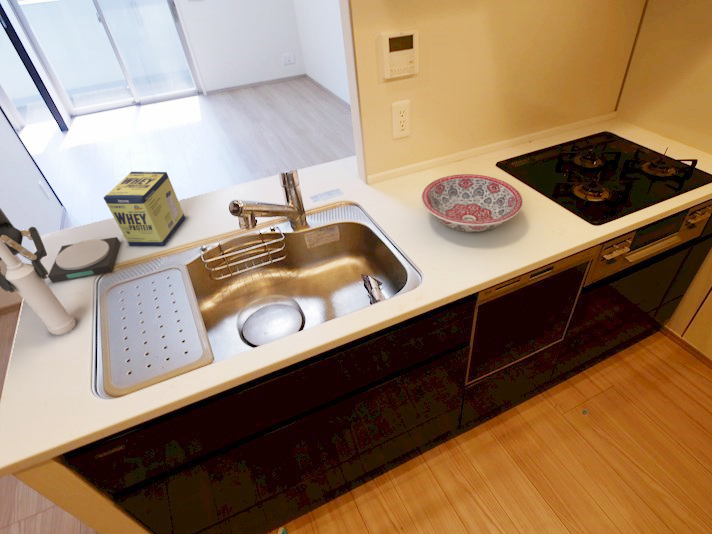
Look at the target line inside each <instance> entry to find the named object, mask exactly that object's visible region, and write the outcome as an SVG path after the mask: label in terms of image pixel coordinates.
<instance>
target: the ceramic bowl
mask: <svg viewBox="0 0 712 534" xmlns="http://www.w3.org/2000/svg"><path fill="white" fill-rule="evenodd" d="M421 203H422V205H423V207H424V208H425V209H426V211H428V212H429V213H430V214H431V215H433V216H434V217H435V218H436V219H437V220H438V221H439V222H440V223H442V224H443V225H445V226H446V227H448V228H450V229H453V230H456V231H459V232H466V233H477V232H478V233H481V232H486V231H490V230H493V229H495V228H497V227H500V226H501V225H503V224H504V223H505V222H507V221H509V220H511V219H513V218H514V217H516V216H517V215H518V214H519V213H520V212H521V210H522V208H523V203H524V202H523V197H522V195H521V193H520V192H519V190H517V188H515V186H513V185H511V184H510V183H508V182H506V181H504V180H501V179H498V178H495V177H492V176H488V175H482V174H471V173H468V174H467V173H462V174H461V173H460V174H452V175H448V176H443V177H440V178H438V179H435V180H433V181H432V182H430V183H429V184H428V185H426V186H425V188H424V189H423V191H422V192H421ZM466 219H473V220H466Z"/></svg>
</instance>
